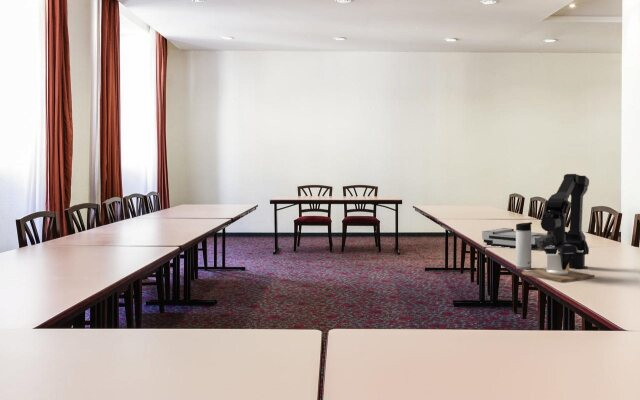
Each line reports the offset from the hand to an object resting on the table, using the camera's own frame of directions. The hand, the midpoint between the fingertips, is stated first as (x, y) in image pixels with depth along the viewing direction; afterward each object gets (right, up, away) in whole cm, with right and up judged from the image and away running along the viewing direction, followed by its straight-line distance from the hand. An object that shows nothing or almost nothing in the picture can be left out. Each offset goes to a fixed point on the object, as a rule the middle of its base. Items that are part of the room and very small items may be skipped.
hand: (557, 267), depth 226 cm
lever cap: (0, -2, 0) cm, 2 cm away
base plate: (0, -3, 0) cm, 3 cm away
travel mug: (-7, -3, +18) cm, 19 cm away
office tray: (+14, +1, +85) cm, 86 cm away
